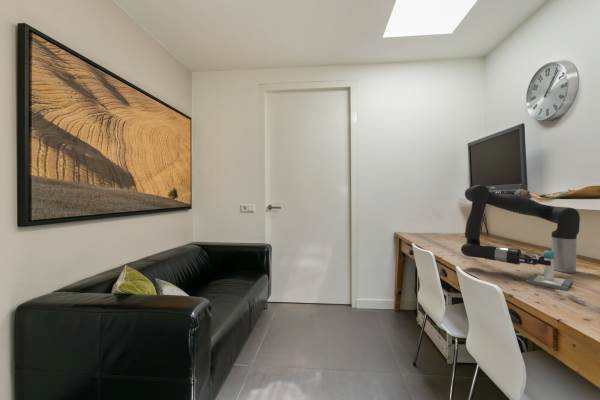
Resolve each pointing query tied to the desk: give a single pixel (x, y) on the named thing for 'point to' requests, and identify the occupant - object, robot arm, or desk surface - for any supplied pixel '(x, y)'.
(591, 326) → the desk surface
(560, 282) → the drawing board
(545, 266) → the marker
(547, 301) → the desk surface
